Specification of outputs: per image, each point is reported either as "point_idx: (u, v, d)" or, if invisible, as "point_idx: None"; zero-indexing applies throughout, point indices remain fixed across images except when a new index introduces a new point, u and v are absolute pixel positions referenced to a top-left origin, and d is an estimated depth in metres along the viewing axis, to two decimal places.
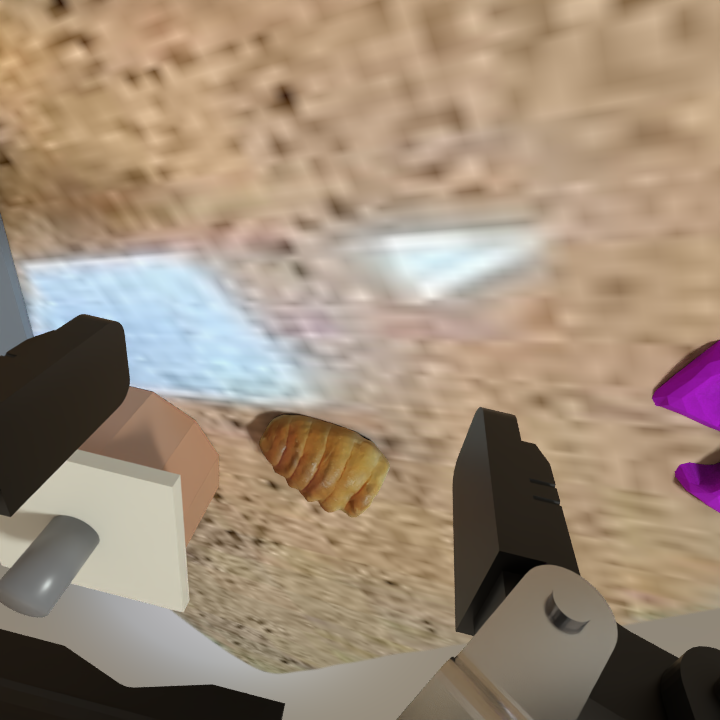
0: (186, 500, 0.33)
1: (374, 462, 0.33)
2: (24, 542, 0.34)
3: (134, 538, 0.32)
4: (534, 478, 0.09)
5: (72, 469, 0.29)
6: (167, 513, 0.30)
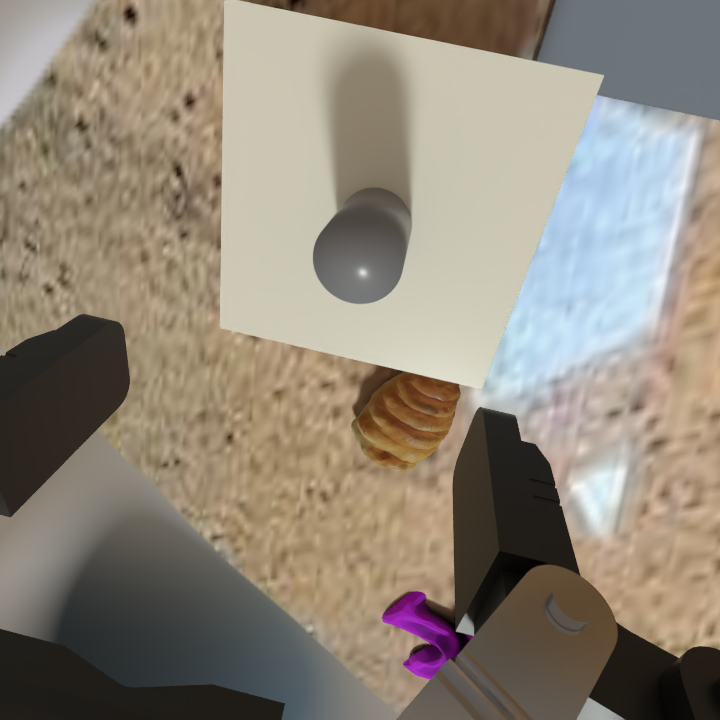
0: None
1: None
2: (322, 105, 0.20)
3: (377, 313, 0.24)
4: (534, 478, 0.09)
5: (509, 279, 0.22)
6: (435, 370, 0.26)
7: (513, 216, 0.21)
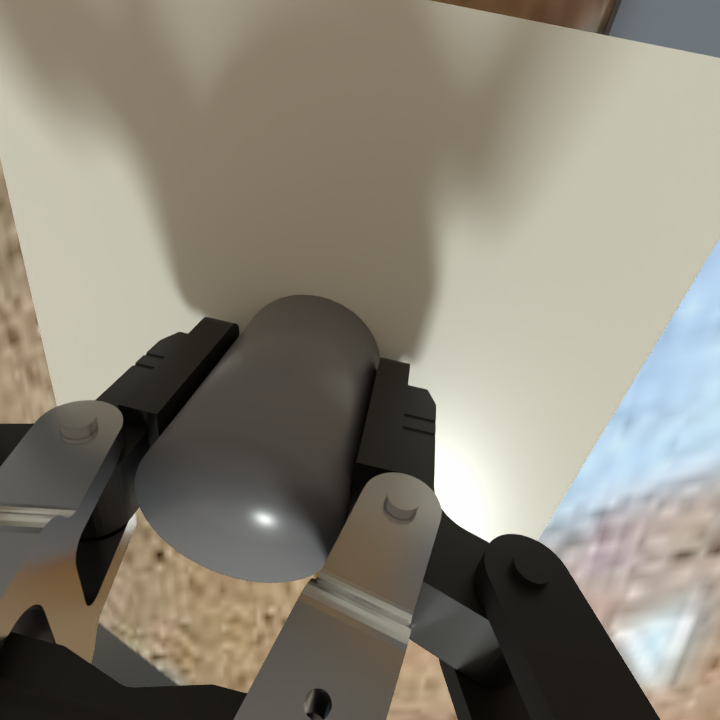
0: None
1: None
2: (187, 139, 0.10)
3: None
4: (417, 415, 0.09)
5: (561, 451, 0.12)
6: None
7: (576, 352, 0.11)
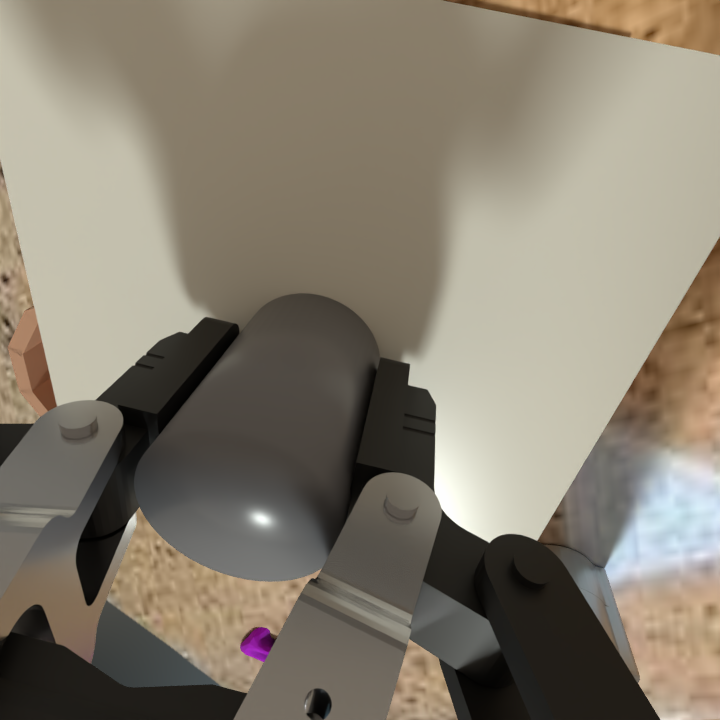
0: None
1: None
2: (187, 137, 0.09)
3: None
4: (417, 415, 0.09)
5: (561, 450, 0.12)
6: None
7: (576, 351, 0.11)
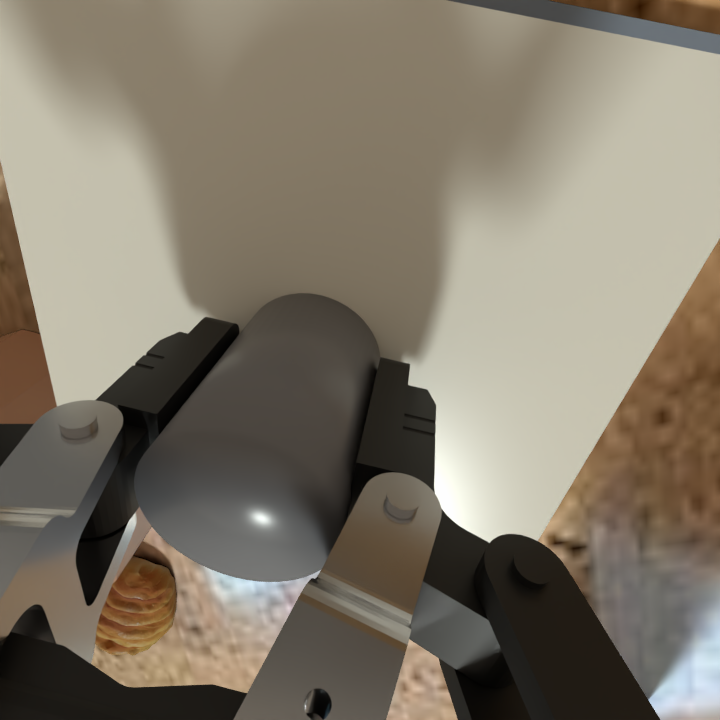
0: None
1: None
2: (187, 137, 0.09)
3: None
4: (417, 415, 0.09)
5: (562, 450, 0.12)
6: None
7: (577, 351, 0.11)
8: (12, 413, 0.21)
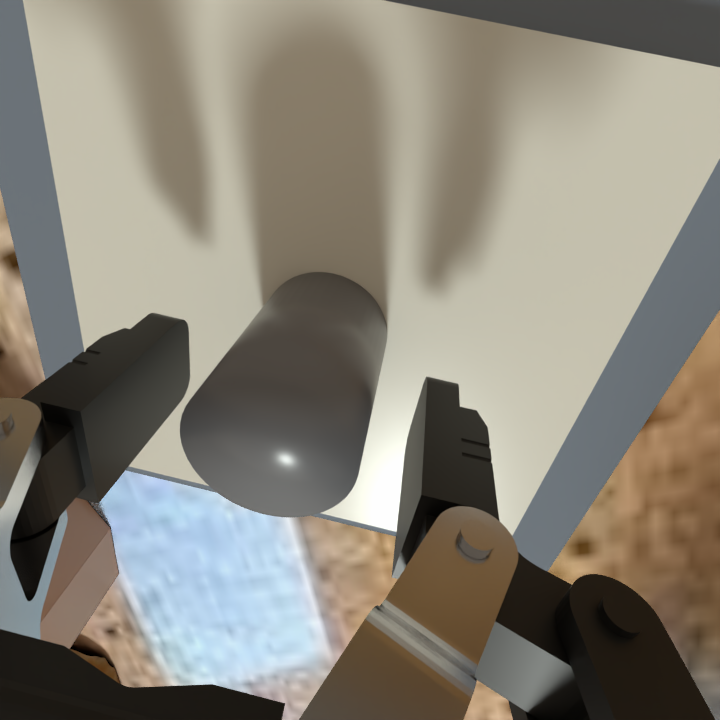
0: None
1: None
2: (218, 131, 0.11)
3: None
4: (470, 439, 0.09)
5: (551, 416, 0.13)
6: None
7: (563, 323, 0.12)
8: None
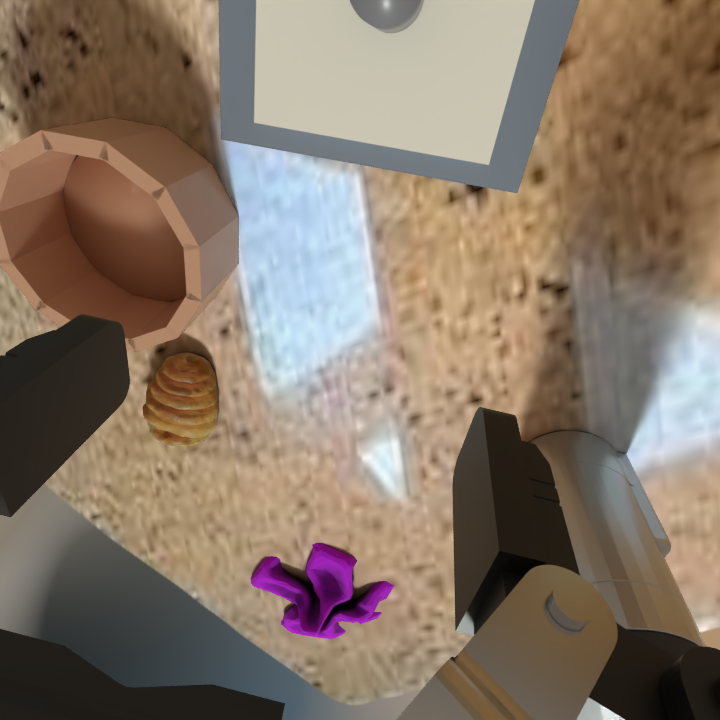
0: None
1: (206, 433, 0.45)
2: None
3: (395, 90, 0.28)
4: (534, 478, 0.09)
5: (511, 38, 0.26)
6: (447, 148, 0.29)
7: None
8: (125, 144, 0.27)
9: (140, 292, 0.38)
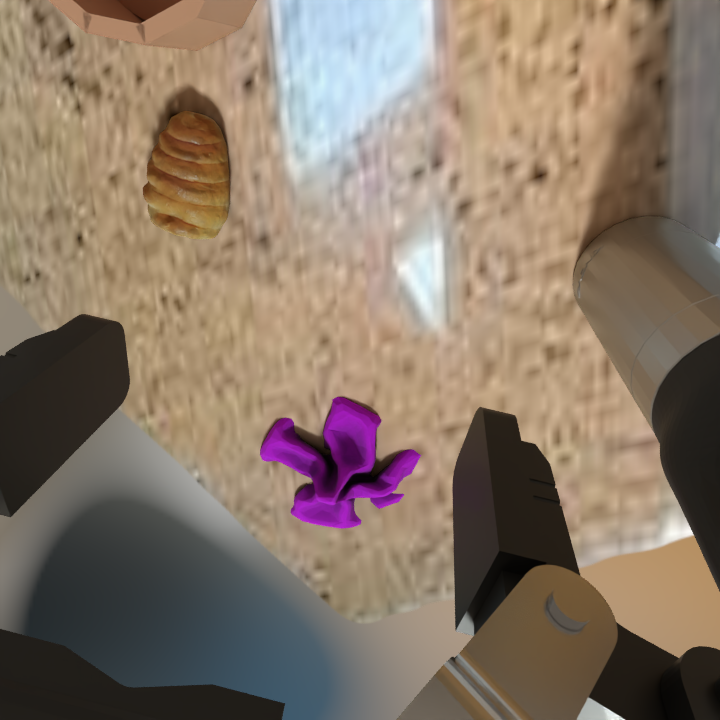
0: (168, 43, 0.29)
1: (215, 226, 0.39)
2: None
3: None
4: (534, 478, 0.09)
5: None
6: None
7: None
8: None
9: None
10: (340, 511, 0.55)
